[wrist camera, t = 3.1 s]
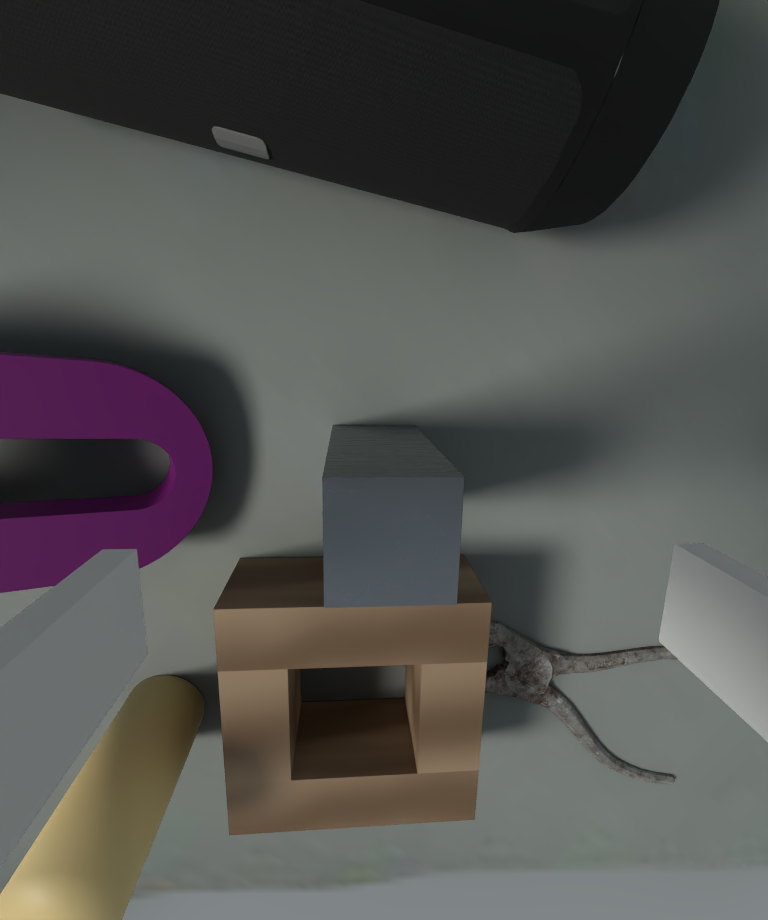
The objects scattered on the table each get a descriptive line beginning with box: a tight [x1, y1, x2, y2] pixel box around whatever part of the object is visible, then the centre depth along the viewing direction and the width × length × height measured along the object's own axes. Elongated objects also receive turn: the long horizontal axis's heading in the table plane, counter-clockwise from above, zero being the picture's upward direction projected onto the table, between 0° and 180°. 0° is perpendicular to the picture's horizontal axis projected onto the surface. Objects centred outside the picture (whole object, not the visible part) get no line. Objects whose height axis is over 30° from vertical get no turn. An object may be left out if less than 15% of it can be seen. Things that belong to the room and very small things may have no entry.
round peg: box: [0, 675, 205, 920], centre depth 21 cm, size 4×4×10 cm
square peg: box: [322, 425, 465, 608], centre depth 19 cm, size 4×4×10 cm
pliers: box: [485, 621, 677, 784], centre depth 28 cm, size 10×1×20 cm
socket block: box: [213, 555, 492, 835], centre depth 24 cm, size 12×12×5 cm
